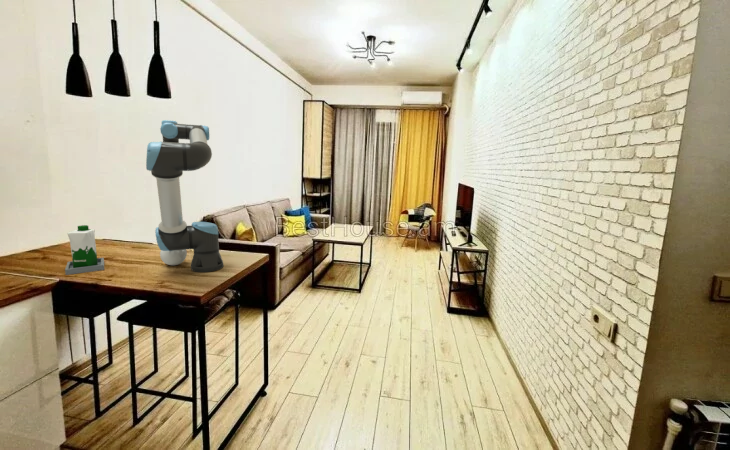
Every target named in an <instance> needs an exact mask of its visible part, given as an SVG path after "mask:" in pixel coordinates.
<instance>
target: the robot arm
mask: <svg viewBox="0 0 730 450" xmlns="http://www.w3.org/2000/svg"><path fill="white" fill-rule="evenodd" d="M159 129H160V134H161V135H162V136H161V137H162V141H151V142H150V141H149V142H148V144H147V148H146V160H145V161H146V163H145V165H146V170H147V171H149V172H151V176H152V177H154V178H155V179H156V186H157V187H156V188H157V195H158V202H159V204H158V205H159V212H160V218H161V221H160V222H159V224H158V226H157V227H156V228H155V230H154V232H155V238H156V243H157V246H158V249H159V250H160V251H161V250H162V251H174V250H193V255H192V259H191V263H190V270H191V272H195V273H210V272H215V271H219V270H222V268H224V259H223V258H222V256H221V253H220V246H219V245H220V244H219V242H220V241H219V228H218V225H217V224H216V223H212V222H207V221H194V222H191V225H188V224H187V222H186V221H185V220H184V219H183V217H184V216H183V208H182V196H181V194H182V193H181V186H180V185H181V184H180V178H181V177H182V176H183V172H191V171H192V172H193V171H197V170H199V169H202V168H204V167H206V165H207V164H208V163H209V162H210V161H211V159H212V157H213V156H212V155H213V153H212V152H213V151H212V149H211V147H210V145H209V144H208V141H209V140H210V127H209V126H206V125H202V124H200V125H199V124H198V125H197V124H186V123H185V124H183V123H178V121H176V120H169V119H165V120H161V126H160V128H159ZM179 140H188V141H189V143H188V142H186V143H185V142H180V141H179Z"/></svg>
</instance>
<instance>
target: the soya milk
mask: <svg viewBox="0 0 730 450" xmlns="http://www.w3.org/2000/svg"><path fill="white" fill-rule="evenodd" d="M67 236H68V239H69V244H70V245H69V246H70V252H71V261H73V268H79V267H87V266H95V265H97V264H98V262H97V258H98V253H97V252H98V251H97V246H96V237H95V236H96V233H95V229H94V228H93V229H92V228H91V229H90V228H89V225H85V224H84V225H83V224H82V225H77V229H74V230H71V231H69V232H67Z"/></svg>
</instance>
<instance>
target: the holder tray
mask: <svg viewBox="0 0 730 450" xmlns="http://www.w3.org/2000/svg"><path fill="white" fill-rule="evenodd" d="M97 262H98V264H97V265H95V266H87V267H79V268H73V260H71V261H67V262H66V263H67V264H66V266H65V269H64V273H65V275H66V276H68V275H74V274H83V273H90V272H97V271H98V272H99V271H104V270H105V259H104V257H99V258H98V257H97Z"/></svg>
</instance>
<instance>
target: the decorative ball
mask: <svg viewBox="0 0 730 450" xmlns="http://www.w3.org/2000/svg"><path fill="white" fill-rule="evenodd" d="M187 250H188V249H186V250H174V251H162V250H160V251H159V255H160V256H159V257H160V260H161V261H162V262H163V263H164V264H165V265H168V266H178V265H181V264H182V263H183V262H184V261H186V258H187V255H188V254H187V253H188V251H187Z"/></svg>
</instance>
